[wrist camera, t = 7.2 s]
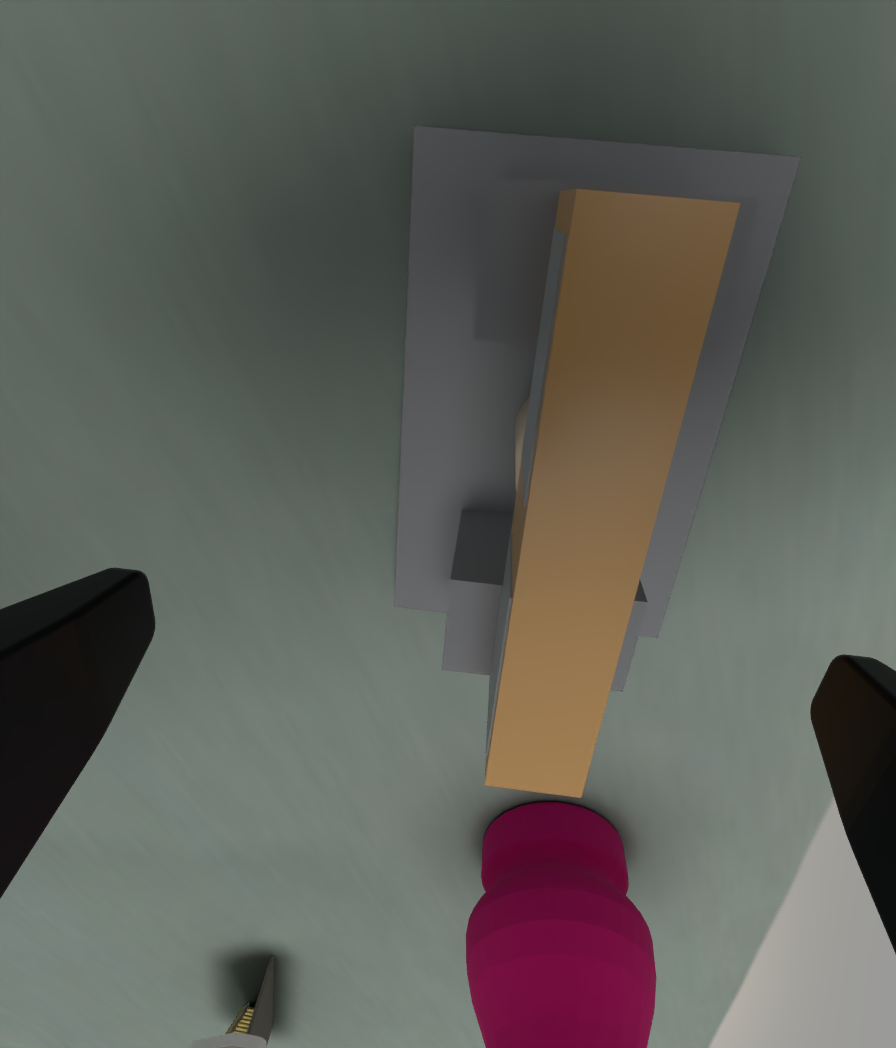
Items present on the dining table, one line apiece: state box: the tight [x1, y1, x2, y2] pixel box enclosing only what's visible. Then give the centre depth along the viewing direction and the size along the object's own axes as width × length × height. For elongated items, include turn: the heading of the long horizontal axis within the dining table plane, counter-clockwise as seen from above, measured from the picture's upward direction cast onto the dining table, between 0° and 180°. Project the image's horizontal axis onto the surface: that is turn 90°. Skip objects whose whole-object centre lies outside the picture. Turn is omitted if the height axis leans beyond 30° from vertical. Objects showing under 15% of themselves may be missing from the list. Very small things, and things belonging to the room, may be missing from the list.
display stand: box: [394, 126, 801, 692], centre depth 16 cm, size 14×9×5 cm, turn 176°
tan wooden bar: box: [485, 189, 740, 798], centre depth 13 cm, size 12×2×4 cm, turn 176°
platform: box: [190, 955, 274, 1048], centre depth 34 cm, size 12×18×6 cm, turn 172°
